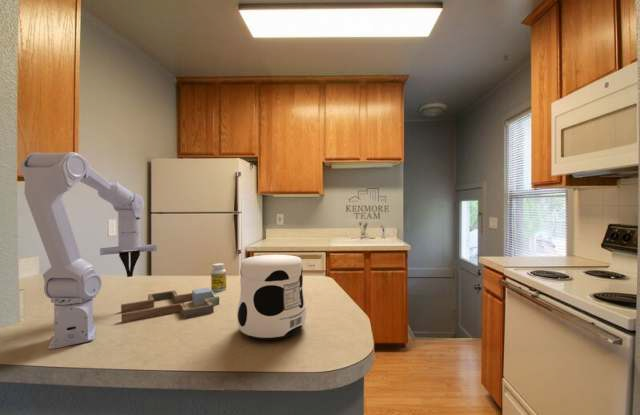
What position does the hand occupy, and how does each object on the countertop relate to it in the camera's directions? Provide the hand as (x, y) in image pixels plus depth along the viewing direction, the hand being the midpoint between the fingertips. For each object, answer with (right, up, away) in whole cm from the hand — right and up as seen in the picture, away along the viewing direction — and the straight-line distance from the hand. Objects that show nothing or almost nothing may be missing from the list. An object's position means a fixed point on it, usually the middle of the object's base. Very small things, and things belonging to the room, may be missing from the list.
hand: (129, 276), depth 91 cm
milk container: (+47, -10, -16) cm, 50 cm away
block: (+20, -10, +5) cm, 23 cm away
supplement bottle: (+21, -10, +20) cm, 30 cm away
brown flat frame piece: (+12, -10, 0) cm, 16 cm away
